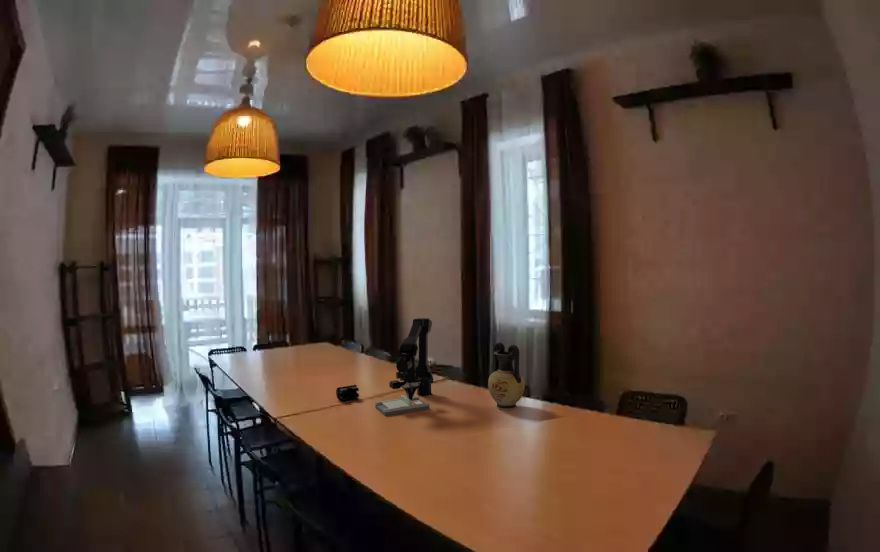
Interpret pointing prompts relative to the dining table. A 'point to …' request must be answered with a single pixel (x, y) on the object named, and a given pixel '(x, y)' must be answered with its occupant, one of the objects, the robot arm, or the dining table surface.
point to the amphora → (506, 377)
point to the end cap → (347, 393)
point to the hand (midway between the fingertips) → (410, 400)
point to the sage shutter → (398, 402)
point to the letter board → (415, 406)
